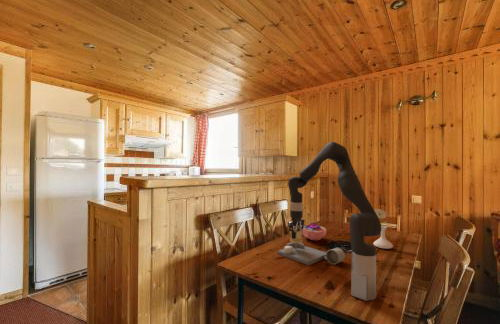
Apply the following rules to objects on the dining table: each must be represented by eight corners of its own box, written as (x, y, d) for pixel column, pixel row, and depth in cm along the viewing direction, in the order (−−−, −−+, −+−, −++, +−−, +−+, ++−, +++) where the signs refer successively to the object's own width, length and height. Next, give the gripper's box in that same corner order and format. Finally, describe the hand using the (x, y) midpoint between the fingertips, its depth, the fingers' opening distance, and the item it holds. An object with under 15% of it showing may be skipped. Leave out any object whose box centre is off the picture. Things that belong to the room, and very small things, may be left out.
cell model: (300, 242, 170) (300, 225, 170) (303, 234, 189) (303, 220, 189) (326, 244, 165) (326, 228, 165) (325, 236, 184) (326, 221, 184)
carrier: (308, 265, 129) (308, 255, 130) (277, 254, 146) (277, 244, 146) (328, 256, 143) (328, 247, 143) (297, 247, 159) (298, 238, 159)
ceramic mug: (346, 262, 134) (346, 248, 134) (338, 266, 129) (338, 251, 129) (328, 257, 142) (328, 244, 142) (321, 260, 137) (320, 247, 137)
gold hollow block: (297, 243, 143) (297, 232, 143) (287, 241, 148) (288, 230, 149) (304, 241, 148) (304, 230, 148) (295, 238, 153) (295, 228, 153)
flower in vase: (397, 249, 157) (397, 210, 158) (384, 251, 153) (384, 211, 154) (379, 243, 169) (379, 207, 170) (367, 245, 165) (367, 208, 166)
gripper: (294, 211, 141) (293, 241, 141) (308, 209, 151) (308, 236, 150) (284, 209, 147) (283, 238, 146) (298, 207, 156) (298, 234, 156)
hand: (296, 237), depth 148 cm, fingers closed on gold hollow block, 4 cm apart
